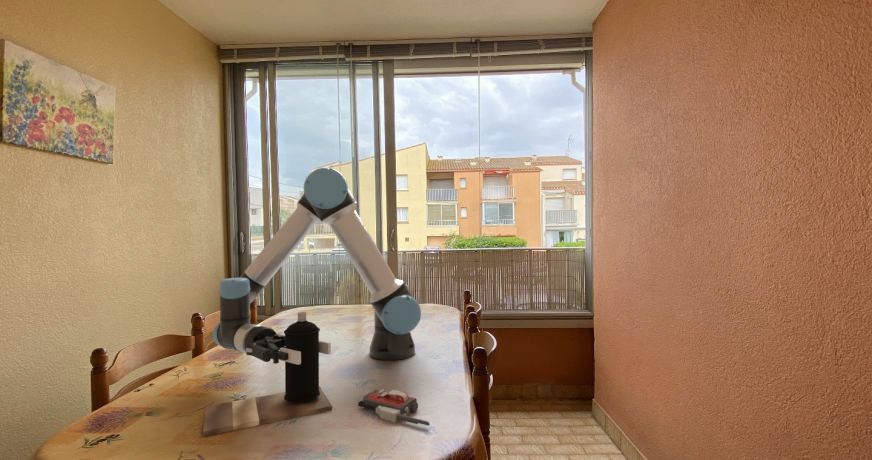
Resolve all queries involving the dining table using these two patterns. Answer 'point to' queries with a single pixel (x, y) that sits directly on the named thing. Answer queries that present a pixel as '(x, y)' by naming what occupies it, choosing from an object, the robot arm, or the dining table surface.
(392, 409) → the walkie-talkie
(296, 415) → the board
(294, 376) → the aerosol can
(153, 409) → the dining table surface
